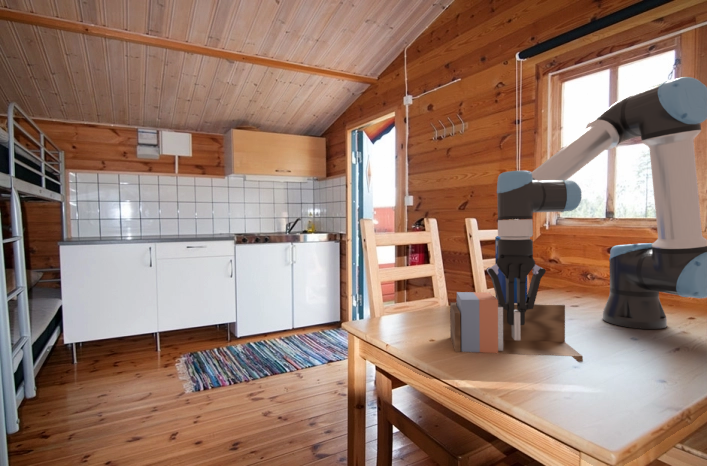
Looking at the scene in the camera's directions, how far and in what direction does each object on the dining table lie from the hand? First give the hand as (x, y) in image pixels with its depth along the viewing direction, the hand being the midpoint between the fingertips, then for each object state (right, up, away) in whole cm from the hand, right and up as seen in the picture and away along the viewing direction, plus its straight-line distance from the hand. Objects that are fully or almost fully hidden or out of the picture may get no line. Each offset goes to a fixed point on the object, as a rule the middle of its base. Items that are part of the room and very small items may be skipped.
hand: (515, 338), depth 90 cm
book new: (-7, -2, +1) cm, 7 cm away
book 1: (-11, -2, +2) cm, 11 cm away
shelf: (-1, -3, +1) cm, 3 cm away
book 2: (+15, -2, +40) cm, 43 cm away
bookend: (-4, -2, +1) cm, 5 cm away
